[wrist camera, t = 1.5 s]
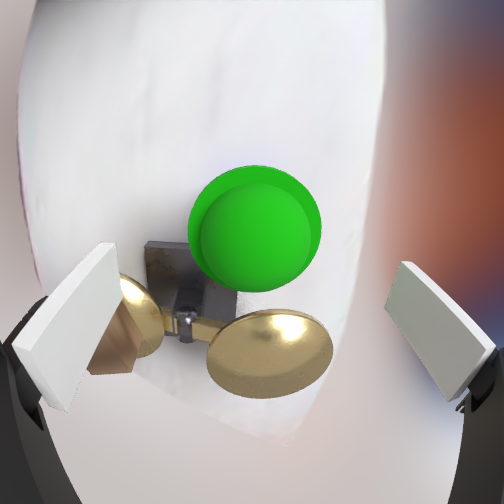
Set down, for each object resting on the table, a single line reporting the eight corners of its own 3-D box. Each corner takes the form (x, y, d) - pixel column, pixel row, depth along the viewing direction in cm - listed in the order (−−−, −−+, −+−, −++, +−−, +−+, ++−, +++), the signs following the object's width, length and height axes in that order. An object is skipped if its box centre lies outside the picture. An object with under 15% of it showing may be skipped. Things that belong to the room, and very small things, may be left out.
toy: (289, 155, 25) (354, 186, 11) (280, 230, 28) (322, 323, 15) (207, 149, 24) (176, 172, 11) (205, 226, 28) (182, 321, 14)
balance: (84, 237, 27) (33, 285, 17) (314, 251, 30) (350, 310, 20) (101, 319, 32) (71, 377, 22) (295, 333, 35) (314, 398, 25)
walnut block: (82, 305, 23) (62, 337, 18) (120, 296, 23) (101, 331, 18) (106, 341, 25) (91, 374, 21) (143, 335, 25) (131, 372, 20)
